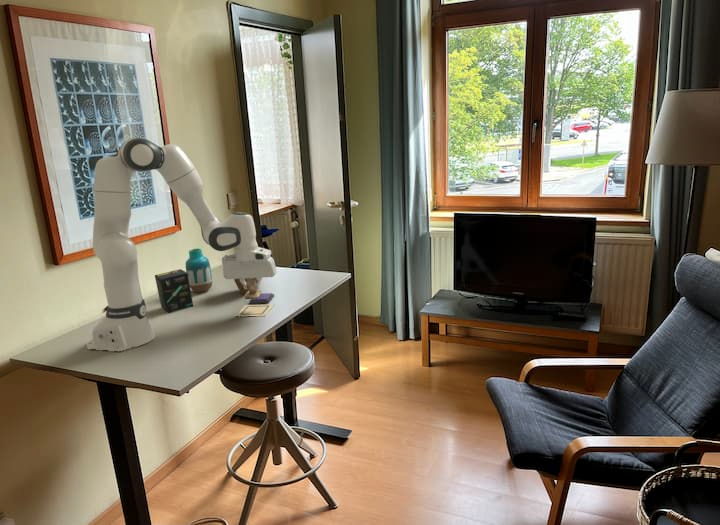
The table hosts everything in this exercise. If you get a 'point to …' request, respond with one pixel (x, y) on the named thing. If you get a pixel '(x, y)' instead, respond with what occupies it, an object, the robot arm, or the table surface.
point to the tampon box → (174, 290)
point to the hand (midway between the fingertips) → (252, 288)
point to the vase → (198, 271)
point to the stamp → (252, 290)
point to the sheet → (255, 310)
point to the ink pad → (262, 298)
